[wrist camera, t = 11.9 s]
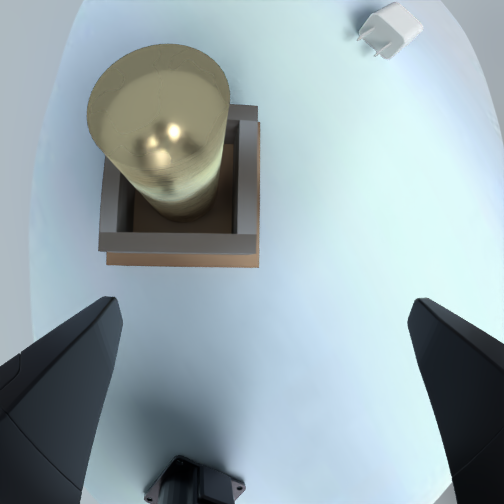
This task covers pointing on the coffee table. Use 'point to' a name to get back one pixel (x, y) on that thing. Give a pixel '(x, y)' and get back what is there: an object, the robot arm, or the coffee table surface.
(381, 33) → the usb wall charger
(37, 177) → the coffee table surface
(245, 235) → the tray
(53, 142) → the coffee table surface
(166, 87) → the gold metallic cylinder
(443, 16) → the coffee table surface
